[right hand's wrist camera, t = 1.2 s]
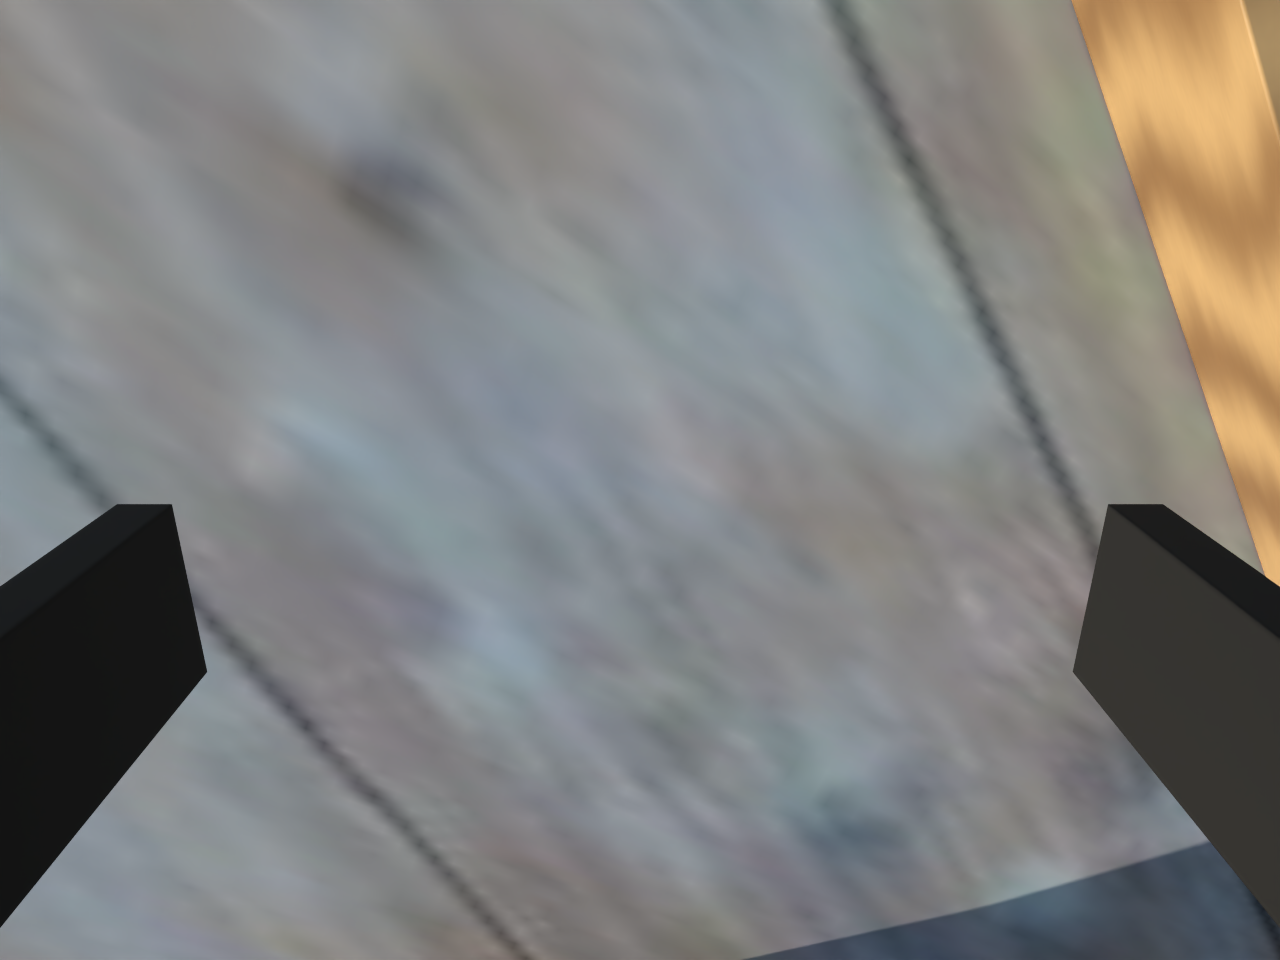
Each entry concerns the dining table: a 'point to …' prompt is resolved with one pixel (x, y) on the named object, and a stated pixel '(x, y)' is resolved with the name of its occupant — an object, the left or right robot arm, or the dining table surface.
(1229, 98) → the board
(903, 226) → the dining table surface
